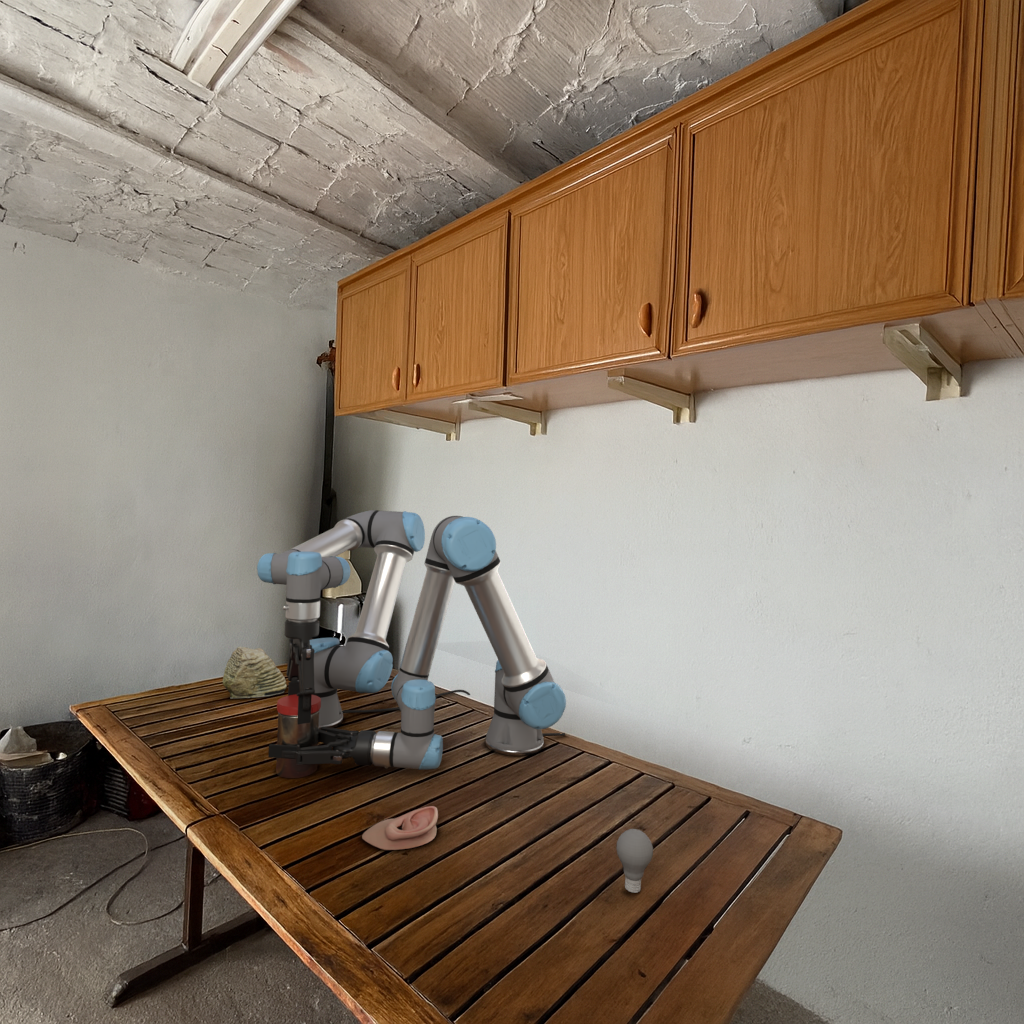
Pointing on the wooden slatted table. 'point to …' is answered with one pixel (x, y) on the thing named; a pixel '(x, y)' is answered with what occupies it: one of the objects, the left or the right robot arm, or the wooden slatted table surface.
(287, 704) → the lid
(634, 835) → the light bulb
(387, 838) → the anatomical model
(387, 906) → the wooden slatted table surface
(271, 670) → the fossil
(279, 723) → the jar
